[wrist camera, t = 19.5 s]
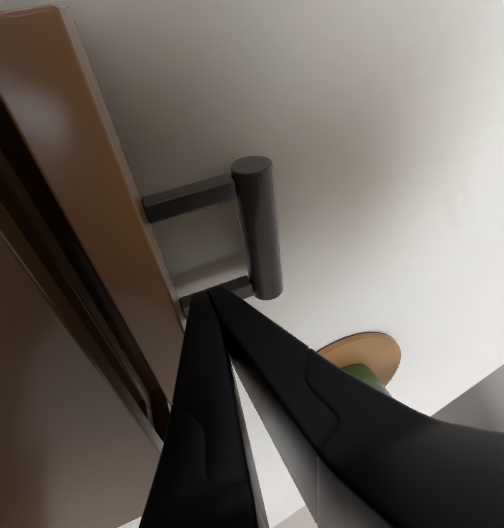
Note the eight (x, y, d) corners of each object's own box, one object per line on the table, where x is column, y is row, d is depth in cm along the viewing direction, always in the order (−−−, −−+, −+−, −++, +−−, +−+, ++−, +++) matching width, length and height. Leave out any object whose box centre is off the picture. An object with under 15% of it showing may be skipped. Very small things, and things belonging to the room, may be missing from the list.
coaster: (387, 392, 26) (391, 396, 26) (278, 442, 24) (281, 447, 24) (407, 311, 20) (412, 316, 20) (266, 370, 18) (269, 376, 18)
